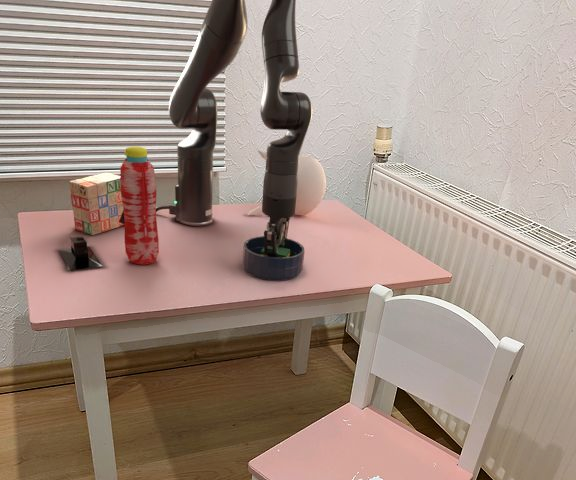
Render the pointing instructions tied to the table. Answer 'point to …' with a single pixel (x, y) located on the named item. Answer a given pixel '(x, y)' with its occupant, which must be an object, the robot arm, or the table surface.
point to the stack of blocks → (97, 203)
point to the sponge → (279, 252)
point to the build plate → (80, 255)
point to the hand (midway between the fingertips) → (274, 264)
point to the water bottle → (139, 207)
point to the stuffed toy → (305, 185)
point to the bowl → (272, 260)
